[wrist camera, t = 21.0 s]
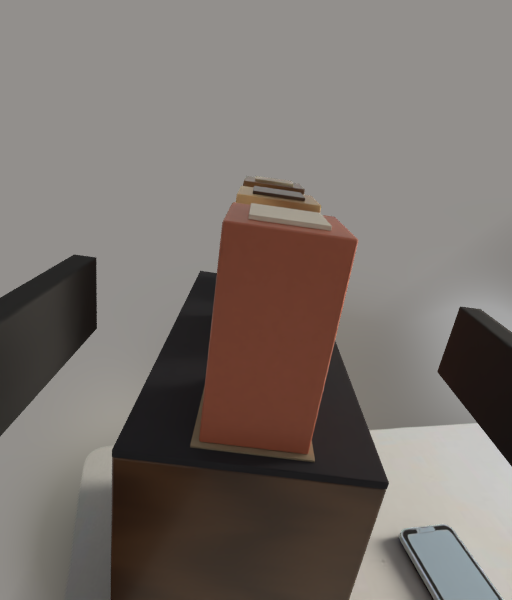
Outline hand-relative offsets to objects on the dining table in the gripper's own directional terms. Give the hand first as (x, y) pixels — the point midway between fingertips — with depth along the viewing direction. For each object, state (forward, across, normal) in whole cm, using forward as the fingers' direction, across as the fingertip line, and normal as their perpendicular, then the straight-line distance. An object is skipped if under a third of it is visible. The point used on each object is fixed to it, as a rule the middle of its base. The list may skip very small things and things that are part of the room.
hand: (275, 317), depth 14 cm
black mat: (+13, 0, -8) cm, 15 cm away
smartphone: (+15, +26, -36) cm, 47 cm away
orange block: (+4, 0, -7) cm, 8 cm away
